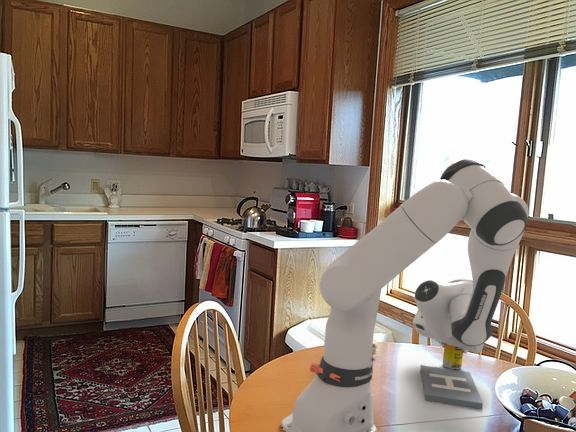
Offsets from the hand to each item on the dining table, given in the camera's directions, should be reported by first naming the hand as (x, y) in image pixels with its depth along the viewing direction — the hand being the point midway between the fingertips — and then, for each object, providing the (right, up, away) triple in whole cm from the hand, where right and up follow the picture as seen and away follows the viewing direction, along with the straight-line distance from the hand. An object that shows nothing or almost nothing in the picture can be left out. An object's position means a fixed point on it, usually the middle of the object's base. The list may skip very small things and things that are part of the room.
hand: (454, 347), depth 149 cm
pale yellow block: (-27, -4, +4) cm, 28 cm away
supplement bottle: (-1, -6, 0) cm, 6 cm away
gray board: (-7, -7, -15) cm, 18 cm away
